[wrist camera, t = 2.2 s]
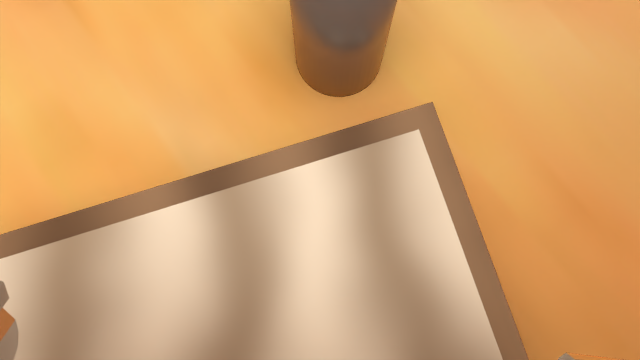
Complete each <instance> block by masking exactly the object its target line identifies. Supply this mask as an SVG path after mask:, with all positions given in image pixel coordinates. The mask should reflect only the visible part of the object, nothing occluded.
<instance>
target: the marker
mask: <svg viewBox="0 0 640 360" xmlns="http://www.w3.org/2000/svg"><path fill="white" fill-rule="evenodd" d="M396 2H397V0H290V6H291V16H292V25H293V35H294V44H295V54H296V63H297V67H298V70H299V72H300V74H301V76H302V78H303V79H304V80H305V82H306V83H307V84H308V85H309V86H310V87H312V88H313V89H314V90H316V91H318V92H320V93H322V94H325V95H329V96H335V97H343V96H349V95H353V94H355V93H358V92H360V91H362V90H363V89H365V88H366V87H367V86H368V85H369V84H371V82H372V81H373V80H374V79H375V77H376V75H377V74H378V71H379V69H380V65H381V61H382V57H383V53H384V50H385V46H386V42H387V38H388V34H389V30H390V26H391V22H392V18H393V14H394V10H395V6H396Z"/></svg>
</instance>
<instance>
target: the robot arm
mask: <svg viewBox="0 0 640 360" xmlns="http://www.w3.org/2000/svg"><path fill="white" fill-rule="evenodd" d="M8 299H9V296H8V293H7V290H6V287H5V284H4V282H3V281H0V360H14V357H15V354H16V351H17V348H18V334H19V331H18V327H17V324H16V320H15V319H14V318H13V317H12V316H11V315H10V314H9V313H8V312H7V311H6V310H5V309H4V308H3V306H4V305H5V303H6V302H7V301H8ZM558 360H624V359H616V358H608V357H599V356H591V355H582V354H574V353H565V354H563V355H562V356H561V357H559V359H558Z"/></svg>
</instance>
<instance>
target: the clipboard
mask: <svg viewBox="0 0 640 360" xmlns="http://www.w3.org/2000/svg"><path fill="white" fill-rule="evenodd" d="M0 281H3V282H4V284H5V287H6V290H7V293H8V296H9V299H8V301H7V302H6V303H5V305H4V306H3V308H4V309H5V310H6V311H7V312H8V313H9V314H10V315H11V316H12V317H13V318H14V319H15V320H16V324H17V327H18V331H19V334H18V348H17V351H16V354H15V357H14V360H529V359H528V357H527V354H526V351H525V348H524V346H523V343H522V340H521V338H520V335H519V332H518V330H517V327H516V324H515V322H514V319H513V316H512V314H511V311H510V308H509V306H508V303H507V300H506V298H505V295H504V292H503V290H502V287H501V284H500V282H499V279H498V276H497V273H496V271H495V268H494V265H493V263H492V260H491V257H490V255H489V252H488V249H487V247H486V244H485V241H484V239H483V236H482V233H481V231H480V228H479V225H478V223H477V220H476V217H475V215H474V212H473V209H472V206H471V204H470V201H469V198H468V196H467V193H466V190H465V188H464V185H463V182H462V180H461V177H460V174H459V172H458V169H457V166H456V164H455V161H454V158H453V156H452V153H451V150H450V148H449V145H448V142H447V140H446V137H445V134H444V131H443V129H442V126H441V123H440V121H439V118H438V115H437V113H436V110H435V107H434V105H433V102H431V103H428V104H424V105H421V106H418V107H415V108H411V109H408V110H405V111H402V112H398V113H395V114H392V115H389V116H385V117H382V118H379V119H376V120H372V121H369V122H366V123H363V124H359V125H356V126H353V127H350V128H346V129H343V130H340V131H337V132H333V133H330V134H327V135H323V136H320V137H317V138H314V139H310V140H307V141H304V142H301V143H297V144H294V145H291V146H288V147H284V148H281V149H278V150H275V151H271V152H268V153H265V154H262V155H258V156H255V157H252V158H249V159H245V160H242V161H239V162H236V163H232V164H229V165H226V166H223V167H219V168H216V169H213V170H210V171H206V172H203V173H200V174H197V175H193V176H190V177H187V178H184V179H180V180H177V181H174V182H170V183H167V184H164V185H161V186H157V187H154V188H151V189H148V190H144V191H141V192H138V193H135V194H131V195H128V196H125V197H122V198H118V199H115V200H112V201H109V202H105V203H102V204H99V205H96V206H92V207H89V208H86V209H83V210H79V211H76V212H73V213H70V214H66V215H63V216H60V217H57V218H53V219H50V220H47V221H44V222H40V223H37V224H34V225H31V226H27V227H24V228H21V229H17V230H14V231H11V232H8V233H4V234H1V235H0Z"/></svg>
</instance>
